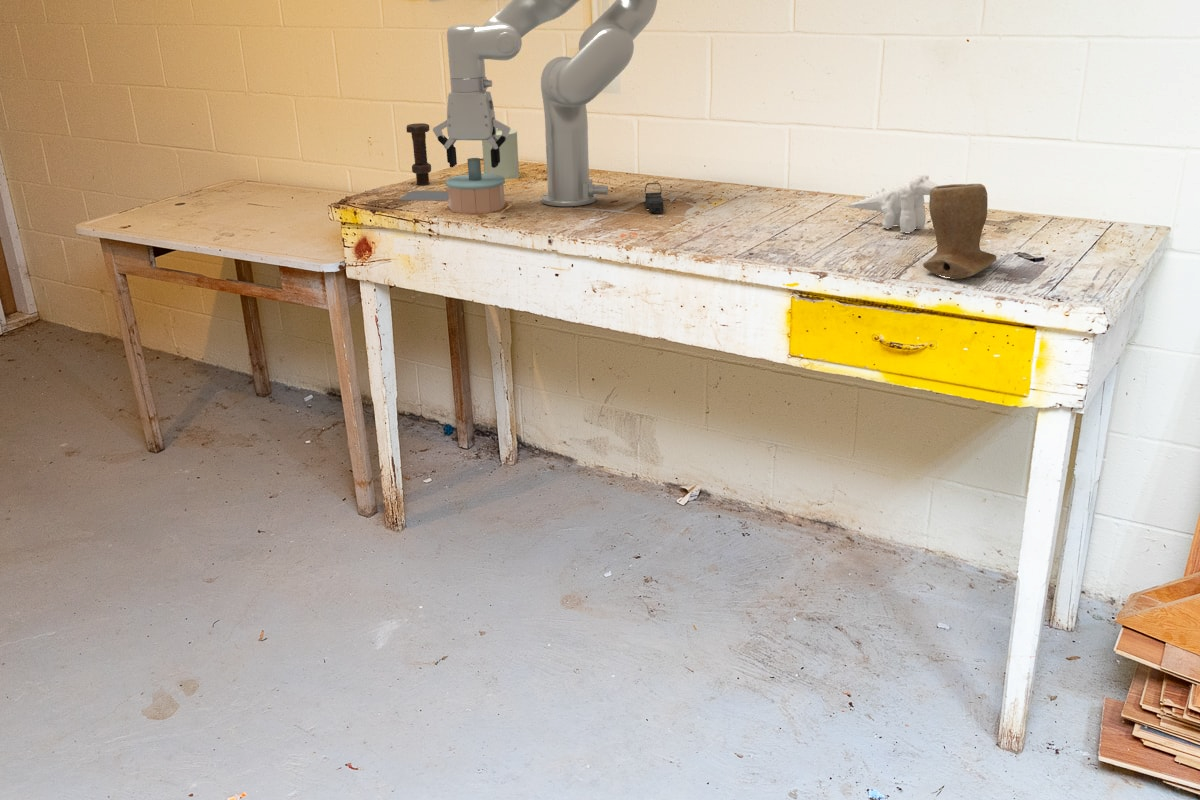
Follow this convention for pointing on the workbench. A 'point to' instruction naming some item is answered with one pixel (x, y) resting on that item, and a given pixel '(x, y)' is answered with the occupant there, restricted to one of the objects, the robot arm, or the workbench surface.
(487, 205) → the bowl
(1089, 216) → the workbench surface
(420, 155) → the bolt
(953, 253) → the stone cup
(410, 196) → the mat
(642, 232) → the workbench surface
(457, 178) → the lid
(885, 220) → the white dinosaur figurine
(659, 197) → the reflex sight
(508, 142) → the can
